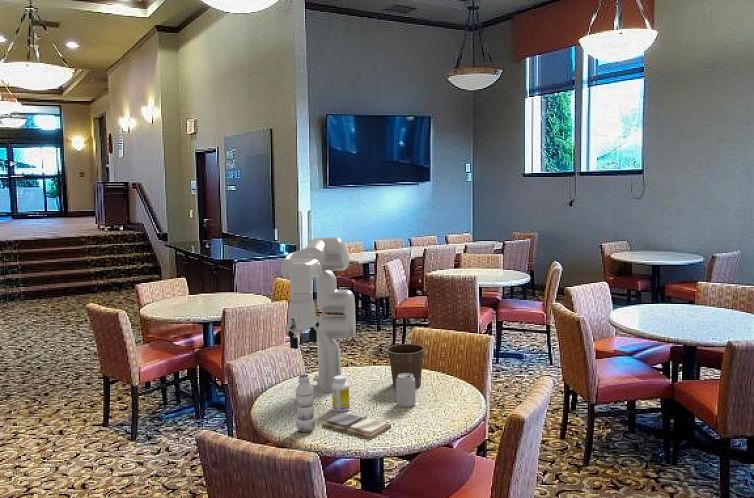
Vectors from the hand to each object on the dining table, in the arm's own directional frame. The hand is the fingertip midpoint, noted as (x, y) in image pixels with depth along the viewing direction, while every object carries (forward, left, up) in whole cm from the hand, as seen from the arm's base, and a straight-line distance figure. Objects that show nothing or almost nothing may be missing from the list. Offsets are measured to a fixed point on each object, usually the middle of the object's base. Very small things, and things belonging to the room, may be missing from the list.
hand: (303, 345), depth 217 cm
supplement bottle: (-3, +23, -31) cm, 39 cm away
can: (+16, +40, -31) cm, 53 cm away
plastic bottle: (0, 0, -31) cm, 31 cm away
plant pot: (+3, +60, -31) cm, 67 cm away
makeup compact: (+13, +12, -31) cm, 36 cm away
